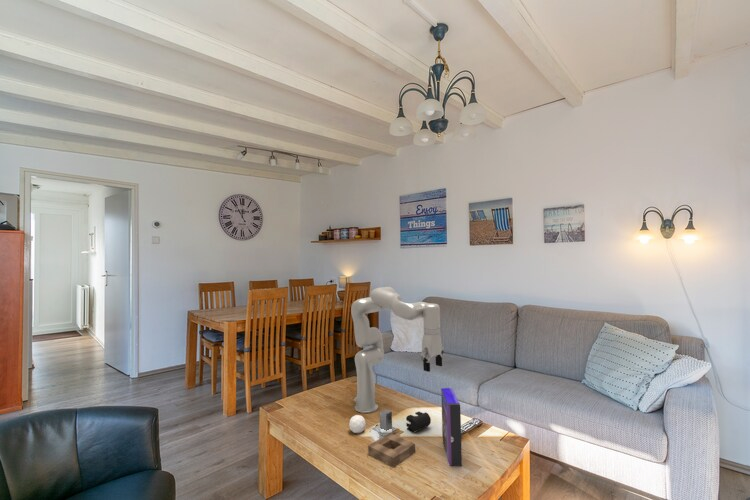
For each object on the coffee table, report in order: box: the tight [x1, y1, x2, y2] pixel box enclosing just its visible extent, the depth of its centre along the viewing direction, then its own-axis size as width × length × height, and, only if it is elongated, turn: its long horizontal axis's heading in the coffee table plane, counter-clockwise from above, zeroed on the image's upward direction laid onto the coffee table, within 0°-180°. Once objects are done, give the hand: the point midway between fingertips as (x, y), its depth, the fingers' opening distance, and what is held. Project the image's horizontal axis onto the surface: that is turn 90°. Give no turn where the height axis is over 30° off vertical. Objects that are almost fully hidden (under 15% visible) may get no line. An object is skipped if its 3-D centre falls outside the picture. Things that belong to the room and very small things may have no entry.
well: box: [367, 433, 416, 468], centre depth 151 cm, size 14×14×4 cm
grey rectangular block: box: [379, 408, 393, 431], centre depth 168 cm, size 4×4×10 cm
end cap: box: [405, 411, 432, 434], centre depth 171 cm, size 10×7×7 cm
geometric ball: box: [348, 414, 366, 434], centre depth 170 cm, size 8×8×8 cm
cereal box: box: [440, 387, 463, 467], centre depth 150 cm, size 17×5×24 cm, turn 178°
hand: (433, 368), depth 165 cm, fingers open, 9 cm apart
